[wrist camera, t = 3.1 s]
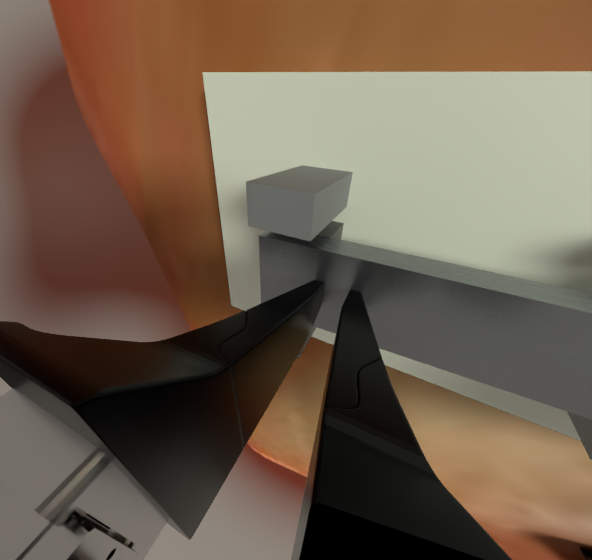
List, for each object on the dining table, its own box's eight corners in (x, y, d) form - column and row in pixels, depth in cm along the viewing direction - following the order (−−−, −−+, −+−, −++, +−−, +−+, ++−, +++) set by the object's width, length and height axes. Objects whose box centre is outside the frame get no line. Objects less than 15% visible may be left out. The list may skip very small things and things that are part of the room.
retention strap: (868, 325, 5) (986, 377, 4) (667, 428, 8) (707, 476, 7) (274, 209, 10) (256, 220, 8) (273, 302, 12) (260, 319, 11)
